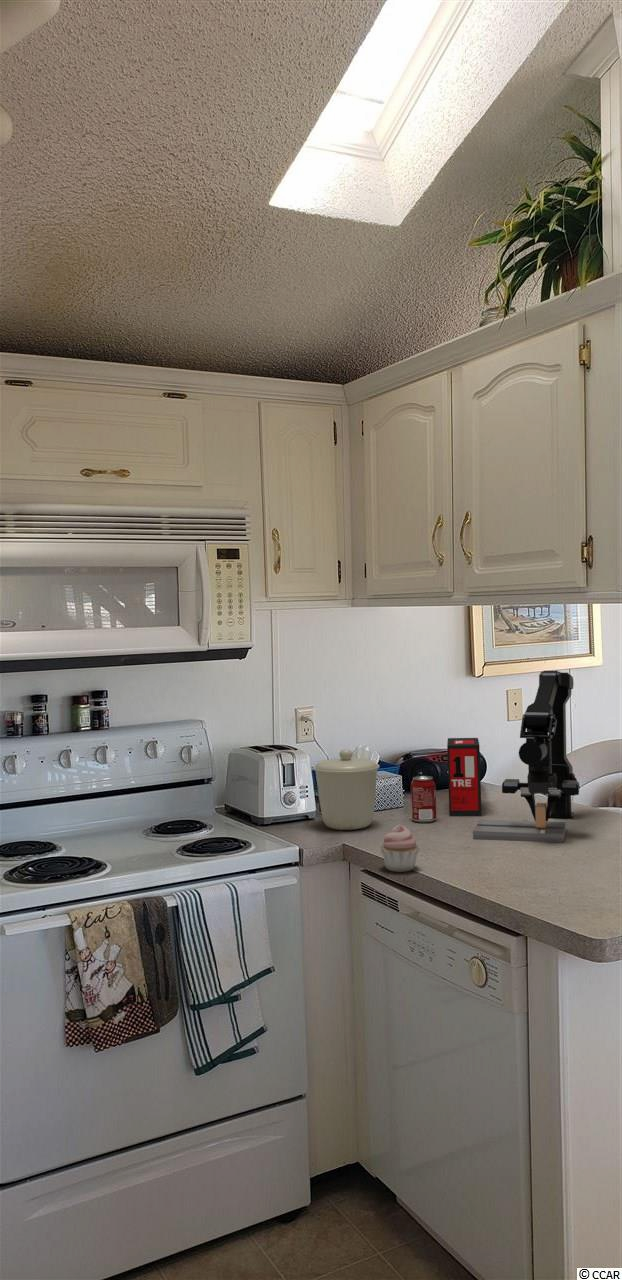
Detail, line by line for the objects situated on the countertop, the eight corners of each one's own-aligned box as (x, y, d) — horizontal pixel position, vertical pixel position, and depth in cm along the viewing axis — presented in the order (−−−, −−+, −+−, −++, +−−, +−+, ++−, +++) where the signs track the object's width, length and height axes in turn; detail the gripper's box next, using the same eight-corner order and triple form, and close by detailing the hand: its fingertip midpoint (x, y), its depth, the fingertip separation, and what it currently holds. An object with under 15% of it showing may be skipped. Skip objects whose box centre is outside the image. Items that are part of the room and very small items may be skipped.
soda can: (435, 823, 254) (434, 779, 253) (410, 823, 255) (409, 779, 255) (437, 818, 260) (436, 775, 260) (413, 818, 262) (411, 775, 261)
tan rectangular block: (537, 827, 240) (536, 802, 240) (547, 827, 239) (546, 803, 239) (535, 832, 234) (535, 807, 234) (545, 832, 233) (545, 807, 233)
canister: (316, 835, 245) (313, 755, 244) (313, 820, 263) (311, 746, 262) (385, 832, 245) (382, 752, 245) (377, 818, 263) (375, 743, 263)
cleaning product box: (449, 804, 279) (447, 738, 279) (480, 804, 278) (478, 737, 277) (449, 816, 263) (447, 745, 262) (481, 816, 261) (479, 745, 261)
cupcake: (387, 876, 203) (385, 830, 203) (374, 865, 212) (372, 821, 212) (427, 872, 205) (426, 826, 205) (413, 861, 214) (411, 818, 214)
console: (480, 826, 248) (480, 818, 248) (566, 829, 241) (565, 820, 241) (473, 838, 235) (472, 829, 235) (563, 842, 228) (563, 832, 228)
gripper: (498, 763, 231) (500, 826, 232) (577, 764, 226) (578, 829, 226) (503, 757, 242) (505, 817, 242) (578, 758, 236) (580, 819, 237)
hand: (541, 820), depth 236 cm, fingers closed on tan rectangular block, 2 cm apart
